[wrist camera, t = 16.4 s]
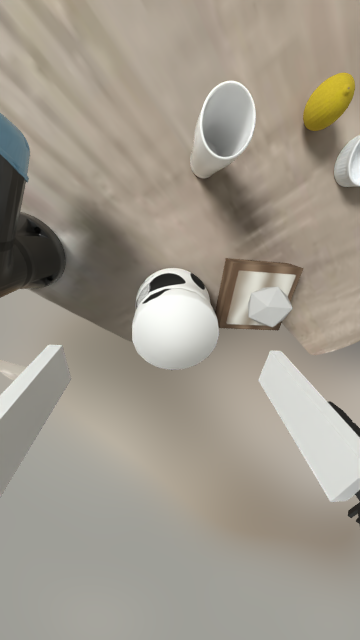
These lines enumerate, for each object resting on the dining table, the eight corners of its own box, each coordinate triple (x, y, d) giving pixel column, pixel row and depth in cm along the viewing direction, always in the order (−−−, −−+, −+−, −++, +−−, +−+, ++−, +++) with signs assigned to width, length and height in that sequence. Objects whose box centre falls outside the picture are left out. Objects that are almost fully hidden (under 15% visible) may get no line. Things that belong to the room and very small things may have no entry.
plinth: (214, 317, 50) (219, 328, 45) (225, 258, 43) (234, 263, 38) (267, 320, 52) (279, 331, 47) (288, 263, 45) (305, 268, 39)
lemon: (327, 92, 31) (375, 53, 24) (320, 135, 34) (361, 112, 27) (296, 97, 31) (334, 61, 24) (291, 141, 34) (324, 119, 27)
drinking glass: (225, 174, 35) (261, 145, 22) (193, 189, 36) (209, 170, 23) (215, 129, 32) (251, 64, 19) (180, 147, 33) (191, 97, 20)
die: (236, 288, 41) (243, 327, 37) (276, 270, 35) (288, 314, 31) (253, 301, 46) (260, 336, 42) (290, 286, 40) (302, 326, 36)
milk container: (206, 323, 51) (224, 368, 35) (145, 330, 51) (136, 379, 35) (204, 260, 43) (227, 282, 27) (131, 268, 42) (112, 295, 27)
